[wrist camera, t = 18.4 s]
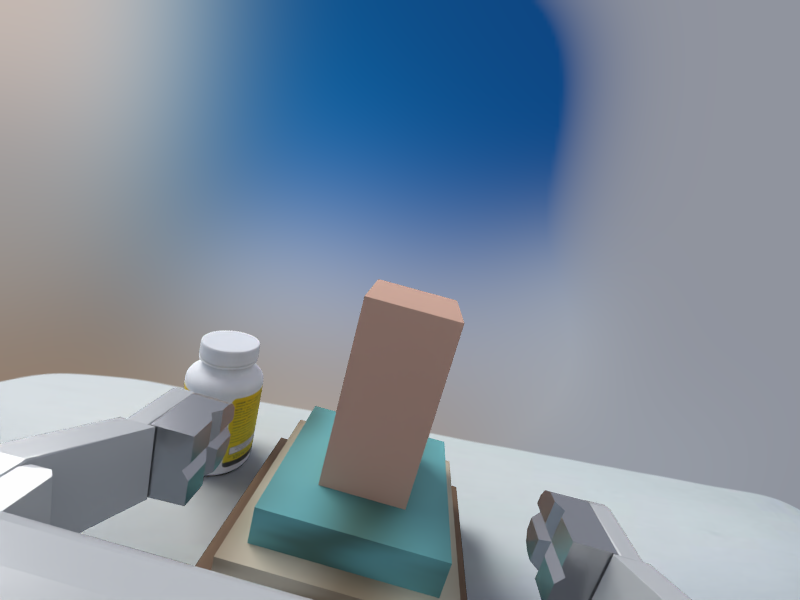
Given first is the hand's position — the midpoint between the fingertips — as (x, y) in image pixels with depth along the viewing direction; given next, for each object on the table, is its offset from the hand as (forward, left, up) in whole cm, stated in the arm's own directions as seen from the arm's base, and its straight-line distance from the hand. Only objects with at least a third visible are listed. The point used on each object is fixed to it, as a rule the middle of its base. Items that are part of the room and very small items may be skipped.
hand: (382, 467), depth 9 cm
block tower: (0, +10, -16) cm, 18 cm away
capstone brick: (0, +10, -8) cm, 12 cm away
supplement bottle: (-12, +17, -16) cm, 26 cm away
